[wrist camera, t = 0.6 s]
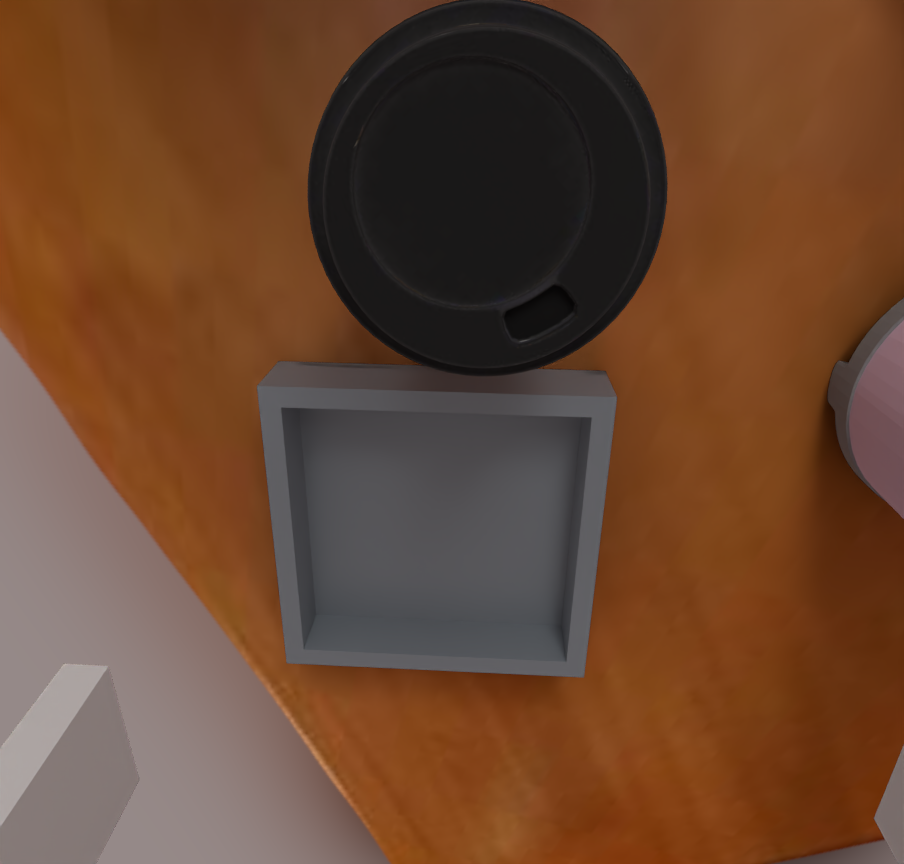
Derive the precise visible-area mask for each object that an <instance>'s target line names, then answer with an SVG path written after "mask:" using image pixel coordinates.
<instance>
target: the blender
mask: <svg viewBox="0 0 904 864" xmlns="http://www.w3.org/2000/svg"><path fill="white" fill-rule="evenodd" d="M828 402H829V404H830V405H831V406H832V408H833V409H834V410H835V424H836V432H837V437H838V441H839V445H840V448H841V450H842V452H843V455H844V457H845V459H846V460H847V462H848V464H849V466H850V467H851V468H852V470H853V471H854V472H855V474H856V475H857V476H858V477H859V478H860V479H861V480H862V481H863V482H864V483H865V484H866V485H867V486H868V487H869V488H870V489H871V490H872V491H873V492H874V493H876V494H877V495H878V496H879V497H881V498H882V499H883V500H885V501H886V502H887V503H888V504H889V505H890V506H891V507H892V508H893V509H894V510H895V511H896V512H897V513H898V514H899V515H900V516H901V517H902V518H903V519H904V298H903V299H902V300H901V301H899V302H898V303H897V304H896V305H894V306H893V307H892V308H891V309H890V310H889V311H888V312H887V313H885V314H884V315H883V316H882V317H881V318H880V319H879V320H878V321H877V323H876V324H875V325H874V326H873V327H872V328H871V329H870V330H869V332H868V333H867V334H866V336H865V337H864V338H863V340H862V341H861V342H860V344H859V346H858V347H857V349H856V350H855V352H854V353H853V355H852V357H851V359H850V361H849V363H848V362H843V361H838V362H837V363H836V365H835V367H834V369H833V372H832V375H831V379H830V383H829V388H828Z"/></svg>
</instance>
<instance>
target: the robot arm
mask: <svg viewBox="0 0 904 864" xmlns="http://www.w3.org/2000/svg"><path fill="white" fill-rule="evenodd" d="M138 782H139V776H138V772H137V769H136V765H135V762H134V757H133V754H132V750H131V747H130V743H129V739H128V736H127V732H126V728H125V724H124V720H123V717H122V713H121V710H120V706H119V702H118V698H117V695H116V691H115V687H114V683H113V680H112V676H111V672H110V669H109V666H99V665H79V664H63V666H62V667H61V668H60V670H59V671H58V672H57V674H56V675H55V676H54V678H53V679H52V680H51V682H50V683H49V684H48V685H47V687H46V688H45V690H44V691H43V692H42V693H41V695H40V696H39V697H38V699H37V700H36V701H35V703H34V704H33V705H32V707H31V708H30V709H29V711H28V712H27V713H26V715H25V716H24V717H23V719H22V720H21V721H20V723H19V724H18V725H17V727H16V728H15V729H14V730H13V732H12V733H11V734H10V736H9V737H8V739H7V740H6V741H5V742H4V744H3V745H2V746H1V748H0V864H96V863H97V861H98V859H99V857H100V855H101V853H102V851H103V849H104V847H105V846H106V844H107V842H108V840H109V838H110V836H111V834H112V832H113V830H114V828H115V826H116V824H117V822H118V820H119V818H120V817H121V815H122V813H123V811H124V809H125V807H126V805H127V803H128V801H129V799H130V797H131V795H132V793H133V791H134V789H135V787H136V786H137V784H138ZM874 820H875V821H876V823H877V825H878V827H879V829H880V831H881V833H882V835H883V837H884V839H885V840H886V842H887V844H888V846H889V848H890V850H891V852H892V854H893V855H894V857H895V859H896V861H897V863H898V864H904V746H903V748H902V751H901V753H900V755H899V758H898V760H897V763H896V765H895V768H894V770H893V773H892V775H891V778H890V780H889V783H888V785H887V787H886V790H885V792H884V795H883V797H882V800H881V802H880V805H879V807H878V810H877V812H876V814H875V817H874Z"/></svg>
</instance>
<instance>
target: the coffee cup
mask: <svg viewBox="0 0 904 864" xmlns="http://www.w3.org/2000/svg"><path fill="white" fill-rule="evenodd" d="M666 203H667V167H666V160H665V152H664V147H663V143H662V138H661V134H660V131H659V127H658V124H657V121H656V118H655V115H654V112H653V110H652V108H651V105H650V103H649V101H648V98H647V97H646V95H645V93H644V91H643V89H642V87H641V86H640V84H639V82H638V81H637V79H636V78H635V76H634V75H633V73H632V72H631V70H630V69H629V67H628V66H627V65H626V64H625V62H624V61H623V60H622V59H621V58H620V56H619V55H618V54H617V53H616V52H615V51H614V50H613V49H612V48H611V47H610V46H609V45H608V44H607V43H606V42H605V41H604V40H602V39H601V38H600V37H599V36H597V35H596V34H595V33H594V32H593V31H591V30H590V29H588V28H587V27H585V26H584V25H582V24H581V23H579V22H578V21H576V20H574V19H572V18H570V17H568V16H566V15H564V14H562V13H560V12H558V11H555V10H553V9H550V8H548V7H545V6H542V5H538V4H535V3H531V2H527V1H522V0H459V1H454V2H450V3H446V4H442V5H438V6H436V7H433V8H430V9H428V10H425V11H422V12H420V13H418V14H416V15H414V16H412V17H410V18H408V19H406V20H404V21H403V22H401V23H400V24H398V25H396V26H395V27H393V28H392V29H390V30H389V31H388V32H386V33H385V34H384V35H382V36H381V37H380V38H378V39H377V40H376V41H375V42H374V43H373V44H372V45H371V46H369V47H368V48H367V49H366V50H365V51H364V52H363V53H362V54H361V55H360V57H359V58H358V59H357V60H356V61H355V62H354V63H353V64H352V66H351V67H350V68H349V70H348V71H347V73H346V74H345V75H344V77H343V78H342V79H341V81H340V83H339V84H338V86H337V88H336V89H335V91H334V93H333V94H332V96H331V99H330V101H329V103H328V105H327V107H326V109H325V111H324V113H323V116H322V118H321V121H320V124H319V126H318V129H317V133H316V136H315V140H314V143H313V147H312V153H311V158H310V164H309V174H308V208H309V217H310V224H311V230H312V234H313V238H314V242H315V246H316V249H317V252H318V255H319V258H320V261H321V263H322V265H323V268H324V270H325V272H326V275H327V277H328V278H329V280H330V282H331V284H332V286H333V288H334V289H335V291H336V293H337V294H338V296H339V297H340V299H341V300H342V302H343V303H344V304H345V306H346V307H347V308H348V310H349V311H350V312H351V314H352V315H353V316H354V317H355V318H356V319H357V320H358V321H359V322H360V323H361V325H363V326H364V327H365V328H366V329H367V330H368V331H369V332H370V333H371V334H372V335H373V336H375V337H376V338H377V339H379V340H380V341H381V342H382V343H384V344H385V345H387V346H388V347H390V348H391V349H393V350H394V351H396V352H397V353H399V354H401V355H403V356H405V357H407V358H408V359H410V360H413V361H415V362H417V363H420V364H422V365H424V366H427V367H430V368H433V369H436V370H440V371H444V372H448V373H453V374H460V375H466V376H502V375H511V374H516V373H522V372H526V371H529V370H533V369H537V368H540V367H542V366H545V365H548V364H551V363H553V362H555V361H557V360H559V359H562V358H564V357H566V356H567V355H569V354H571V353H573V352H574V351H576V350H578V349H579V348H581V347H582V346H584V345H585V344H587V343H588V342H590V341H591V340H592V339H594V338H595V337H596V336H597V335H598V334H600V333H601V332H602V331H603V330H604V329H605V328H606V327H607V326H608V325H609V324H610V323H611V322H612V321H614V319H615V318H616V317H617V316H618V315H619V314H620V313H621V311H622V310H623V309H624V308H625V307H626V305H627V304H628V303H629V301H630V300H631V299H632V297H633V296H634V294H635V293H636V291H637V289H638V288H639V286H640V285H641V283H642V281H643V279H644V277H645V275H646V273H647V271H648V269H649V267H650V265H651V263H652V260H653V258H654V255H655V253H656V250H657V246H658V243H659V240H660V237H661V233H662V228H663V224H664V219H665V211H666Z"/></svg>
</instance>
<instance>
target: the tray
mask: <svg viewBox="0 0 904 864" xmlns="http://www.w3.org/2000/svg"><path fill="white" fill-rule="evenodd" d="M257 391H258V401H259V410H260V419H261V429H262V438H263V447H264V457H265V466H266V475H267V485H268V494H269V503H270V512H271V522H272V531H273V540H274V550H275V559H276V568H277V578H278V587H279V596H280V606H281V615H282V624H283V634H284V643H285V652H286V662H287V663H292V664H313V665H334V666H355V667H376V668H397V669H418V670H439V671H460V672H481V673H502V674H523V675H543V676H564V677H584V672H585V664H586V655H587V647H588V638H589V630H590V621H591V613H592V605H593V596H594V588H595V579H596V571H597V562H598V554H599V545H600V537H601V529H602V520H603V512H604V503H605V495H606V486H607V478H608V469H609V461H610V453H611V444H612V436H613V427H614V419H615V410H616V402H617V396H616V394H615V392H614V389H613V387H612V385H611V383H610V380H609V378H608V376H607V374H606V372H605V371H590V370H557V369H533V370H529V371H526V372H522V373H516V374H511V375H502V376H466V375H460V374H453V373H448V372H444V371H440V370H436V369H433V368H430V367H427V366H422V365H388V364H355V363H321V362H288V361H278V362H277V364H276V365H275V366H274V367H273V368H272V369H271V370H270V372H269V373H268V374H267V375H266V376H265V377H264V379H263V380H262V381H261V382H260V383H259V384H258V385H257Z"/></svg>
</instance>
